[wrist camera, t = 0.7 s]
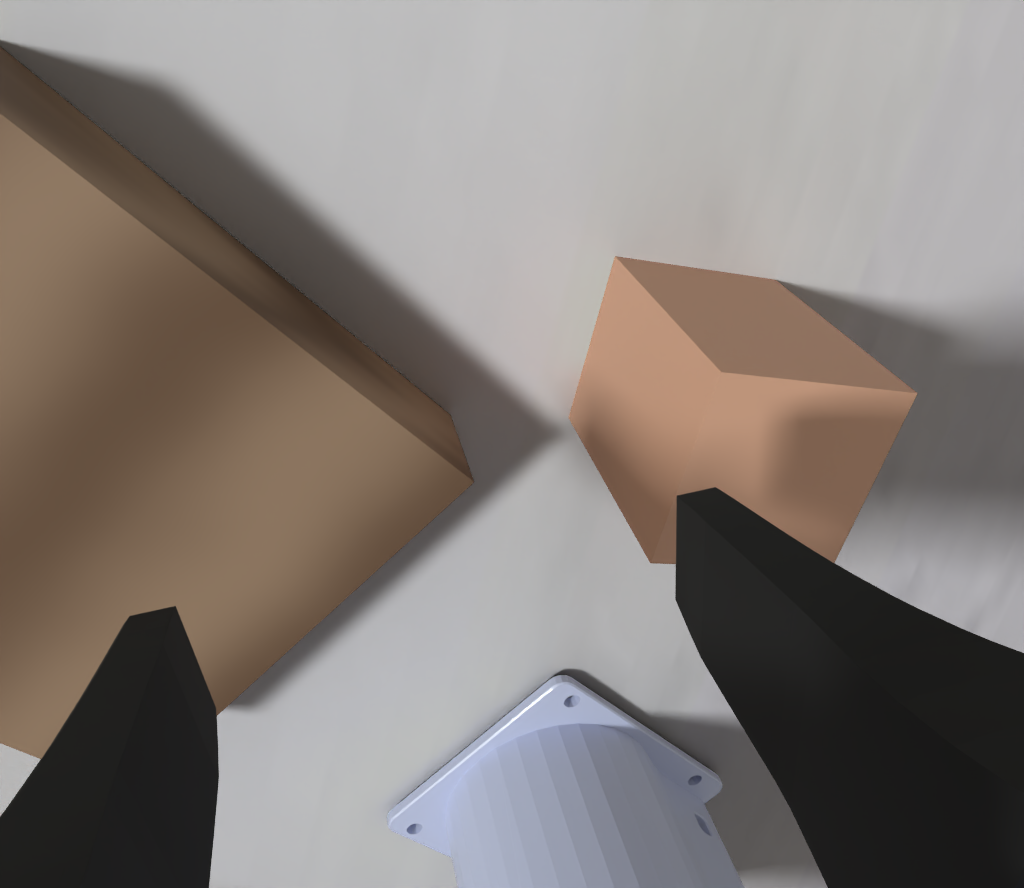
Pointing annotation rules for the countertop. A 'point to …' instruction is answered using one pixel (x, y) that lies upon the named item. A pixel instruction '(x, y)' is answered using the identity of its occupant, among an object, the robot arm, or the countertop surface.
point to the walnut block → (175, 428)
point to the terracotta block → (731, 404)
